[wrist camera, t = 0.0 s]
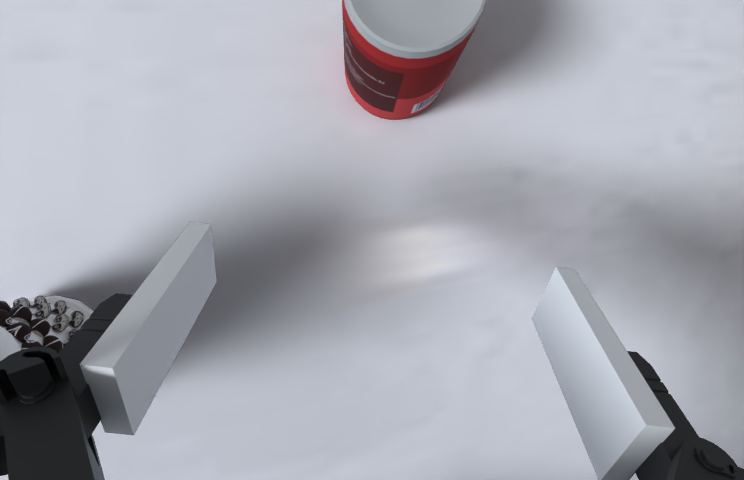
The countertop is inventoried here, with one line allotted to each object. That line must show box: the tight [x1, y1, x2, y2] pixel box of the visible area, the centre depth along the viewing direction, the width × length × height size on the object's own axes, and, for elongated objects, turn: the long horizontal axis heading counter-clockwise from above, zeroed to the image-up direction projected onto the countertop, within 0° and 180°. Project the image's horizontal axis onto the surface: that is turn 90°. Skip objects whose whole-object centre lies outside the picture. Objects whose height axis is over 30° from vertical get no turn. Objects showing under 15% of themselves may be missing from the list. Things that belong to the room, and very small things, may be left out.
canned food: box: [342, 0, 487, 120], centre depth 27 cm, size 8×8×11 cm
